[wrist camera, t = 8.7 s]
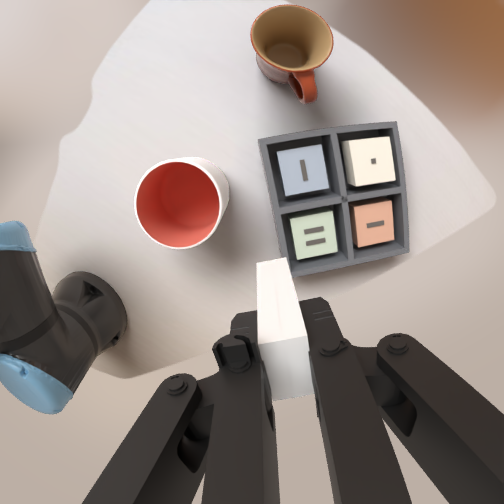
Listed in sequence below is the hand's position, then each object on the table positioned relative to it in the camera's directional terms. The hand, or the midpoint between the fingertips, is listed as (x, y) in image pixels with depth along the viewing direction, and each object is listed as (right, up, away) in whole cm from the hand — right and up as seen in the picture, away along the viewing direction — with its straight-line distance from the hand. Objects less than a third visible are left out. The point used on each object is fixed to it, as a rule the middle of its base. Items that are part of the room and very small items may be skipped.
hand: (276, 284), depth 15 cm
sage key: (+7, +5, +25) cm, 27 cm away
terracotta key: (+15, +7, +25) cm, 30 cm away
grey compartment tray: (+10, +10, +24) cm, 28 cm away
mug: (+4, +26, +19) cm, 32 cm away
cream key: (+14, +14, +20) cm, 28 cm away
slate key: (+5, +13, +23) cm, 27 cm away
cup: (-9, +10, +25) cm, 28 cm away
